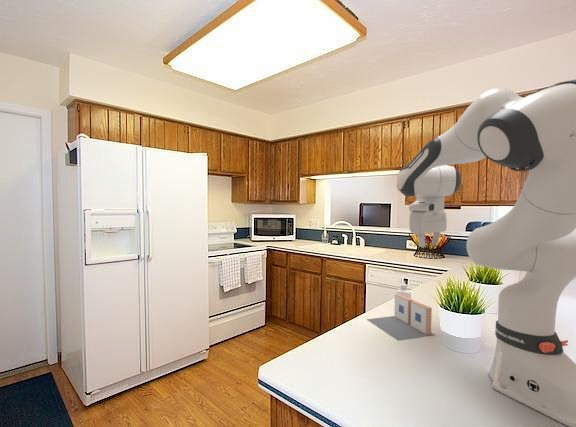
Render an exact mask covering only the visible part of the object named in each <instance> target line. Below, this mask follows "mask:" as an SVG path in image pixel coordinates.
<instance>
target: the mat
mask: <svg viewBox="0 0 576 427" xmlns="http://www.w3.org/2000/svg"><path fill="white" fill-rule="evenodd" d="M366 321H367V322H369V323H372V325H373V326H375V327H377V328H378V329H380V330H382V331H383V332H384V333H386V334H387V335H388V336H391V337H392V338H394V339H395V340H397V341H399V342H400V341H405V340H411V339H412V340H413V339H419V338H426V337H431V336H436V334H435V333H433V332H431V334H429V335H426V334H424V333H422V332H420V331H419V330H417V329H415V328H413V327H411V326H410V325H408V324H406V323H404V322H402V321H401V320H399V319H397V318H395V315H392V316H384V317H375V318H366Z"/></svg>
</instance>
